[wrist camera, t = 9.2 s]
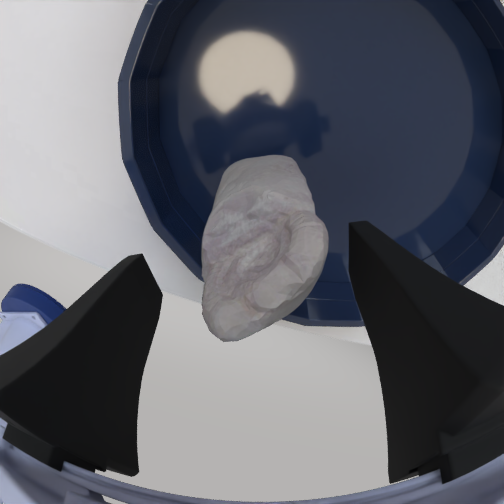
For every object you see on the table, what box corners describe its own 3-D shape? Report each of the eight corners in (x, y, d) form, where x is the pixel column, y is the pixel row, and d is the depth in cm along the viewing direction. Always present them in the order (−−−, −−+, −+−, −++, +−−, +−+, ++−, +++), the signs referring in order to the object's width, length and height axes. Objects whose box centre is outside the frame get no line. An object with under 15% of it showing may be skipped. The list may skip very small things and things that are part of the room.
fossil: (258, 237, 17) (252, 397, 9) (204, 214, 16) (152, 368, 8) (308, 152, 14) (370, 287, 6) (247, 122, 13) (216, 220, 5)
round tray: (120, 220, 17) (92, 256, 14) (244, -99, 5) (239, -134, 2) (395, 312, 21) (409, 350, 18) (533, 91, 9) (570, 106, 6)
